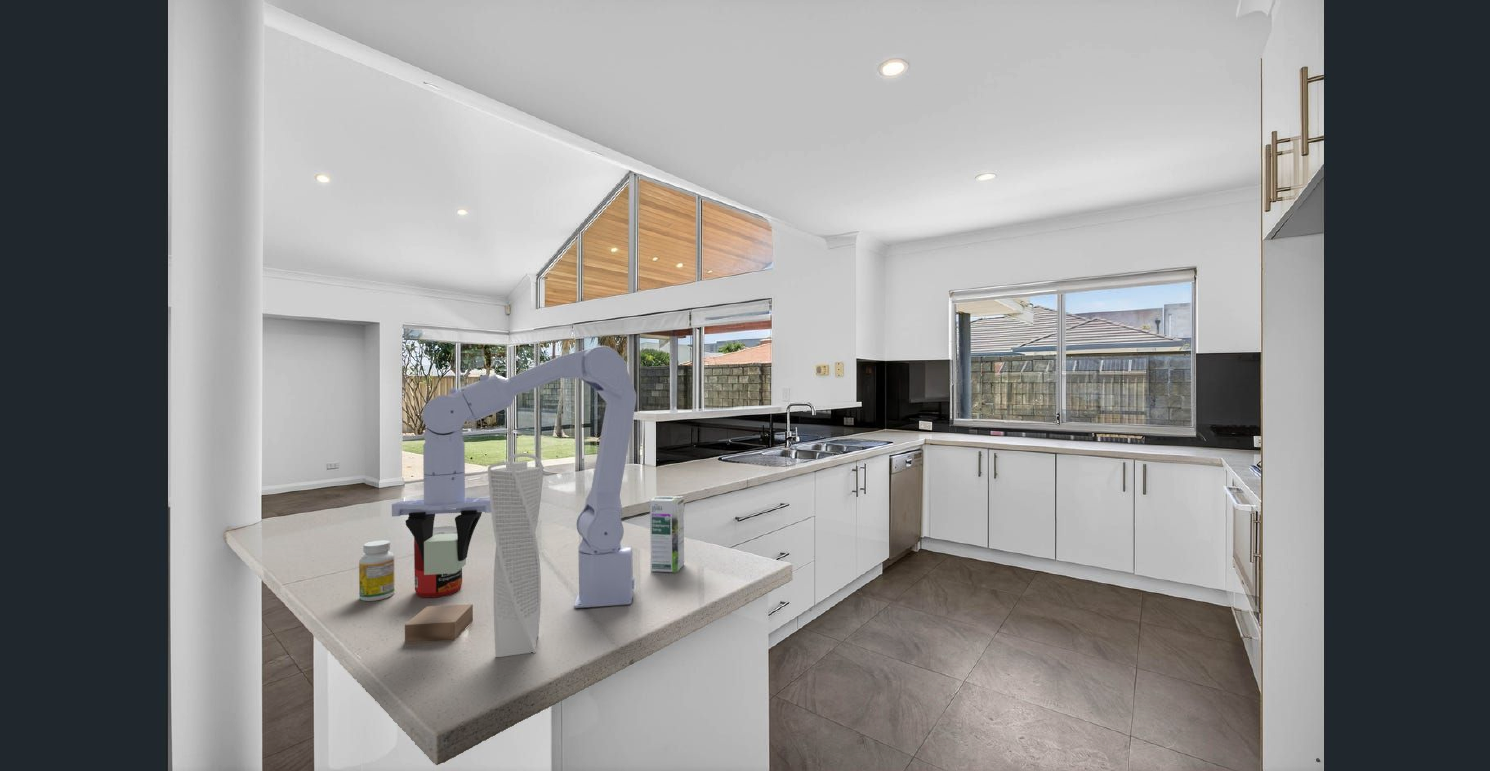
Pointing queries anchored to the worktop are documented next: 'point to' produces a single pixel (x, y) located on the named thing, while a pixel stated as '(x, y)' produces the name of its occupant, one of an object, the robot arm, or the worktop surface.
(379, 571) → the supplement bottle
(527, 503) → the skyscraper
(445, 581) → the canned food
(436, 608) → the walnut block
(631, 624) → the worktop surface
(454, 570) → the sage block
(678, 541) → the syrup box
